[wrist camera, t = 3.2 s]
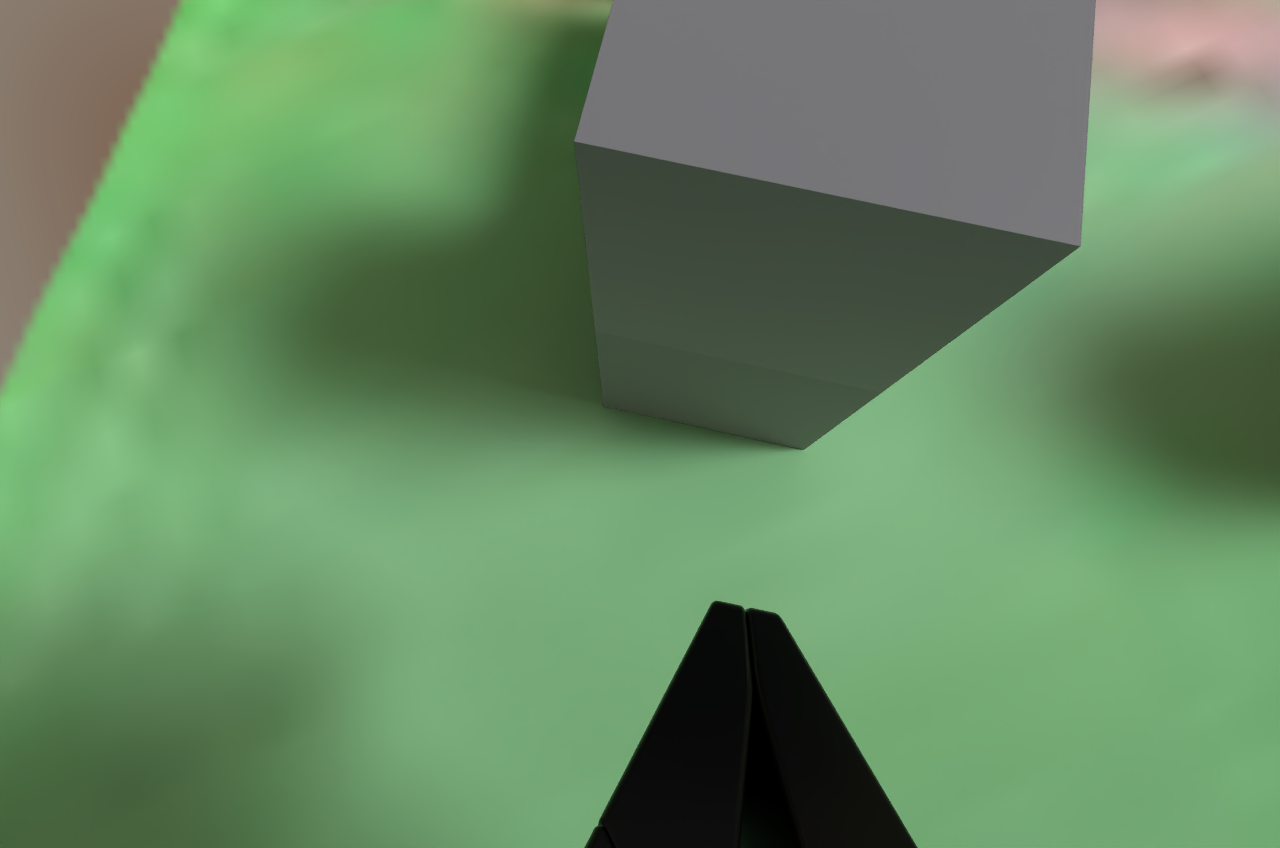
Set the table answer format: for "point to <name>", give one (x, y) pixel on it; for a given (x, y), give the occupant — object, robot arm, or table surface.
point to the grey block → (819, 194)
